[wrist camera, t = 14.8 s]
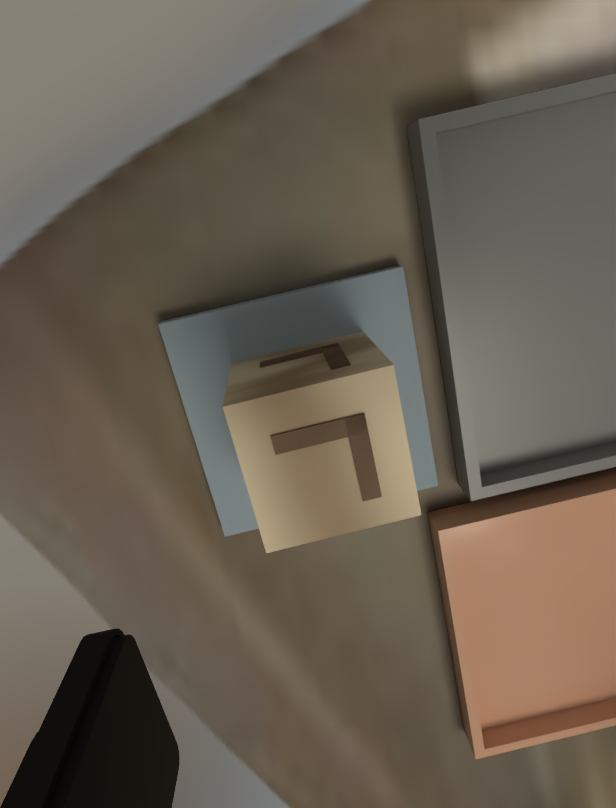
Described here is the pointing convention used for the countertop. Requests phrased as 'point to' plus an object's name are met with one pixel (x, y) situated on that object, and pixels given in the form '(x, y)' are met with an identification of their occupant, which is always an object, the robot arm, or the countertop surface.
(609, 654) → the terracotta tray
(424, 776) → the countertop surface
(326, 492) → the letter cube
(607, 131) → the charcoal tray
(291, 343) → the mat
